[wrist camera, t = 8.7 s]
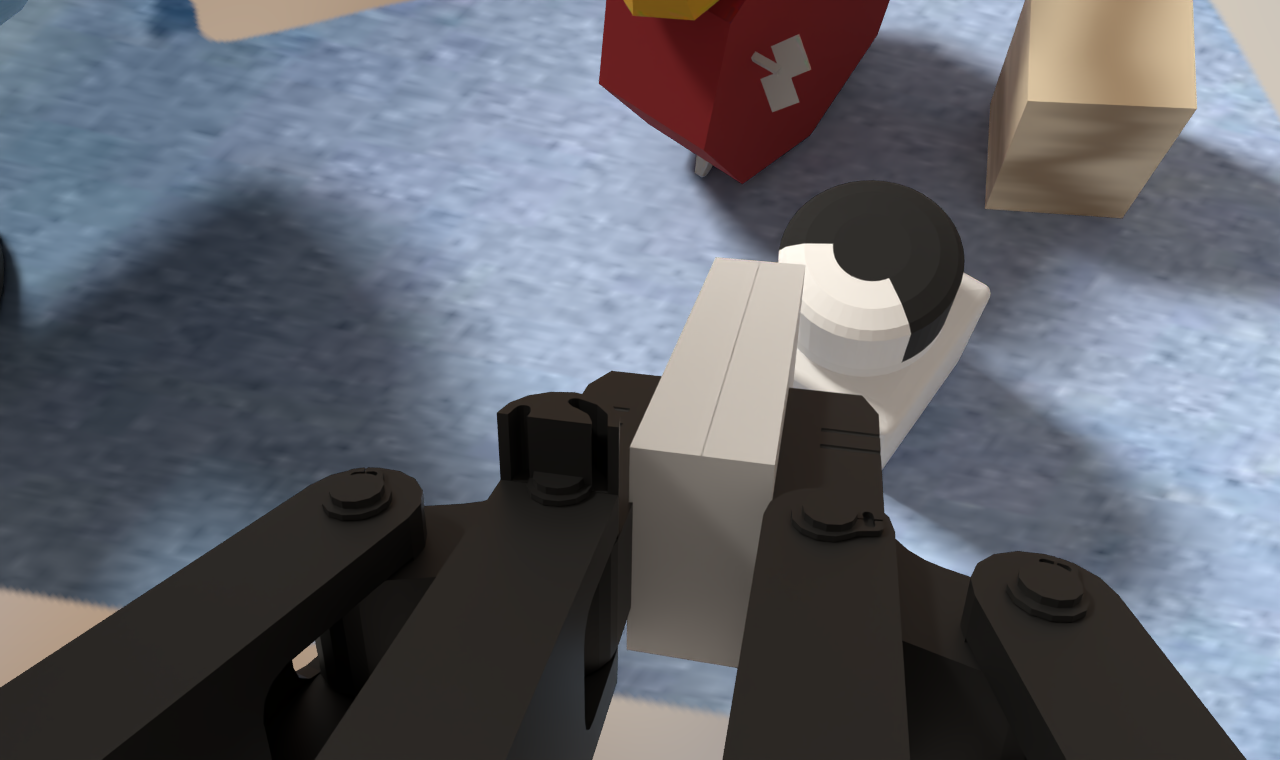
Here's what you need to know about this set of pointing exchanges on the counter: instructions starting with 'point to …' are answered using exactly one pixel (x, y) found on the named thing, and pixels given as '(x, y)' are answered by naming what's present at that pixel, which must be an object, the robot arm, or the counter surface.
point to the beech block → (1089, 104)
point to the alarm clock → (734, 70)
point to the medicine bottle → (880, 299)
